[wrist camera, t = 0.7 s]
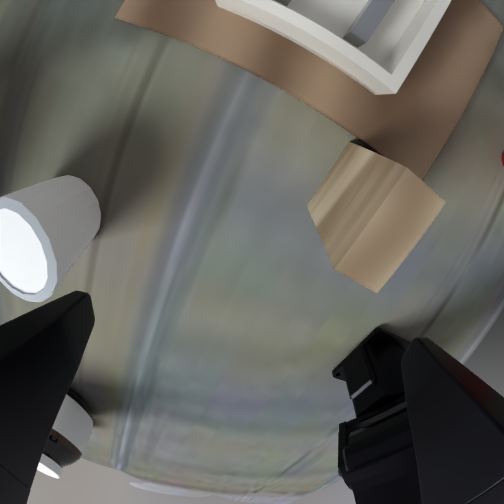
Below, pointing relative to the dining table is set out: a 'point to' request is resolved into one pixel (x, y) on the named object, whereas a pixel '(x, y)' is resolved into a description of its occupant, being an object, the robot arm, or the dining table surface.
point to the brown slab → (340, 84)
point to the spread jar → (67, 436)
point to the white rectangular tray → (353, 33)
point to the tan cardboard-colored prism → (371, 215)
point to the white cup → (45, 234)
